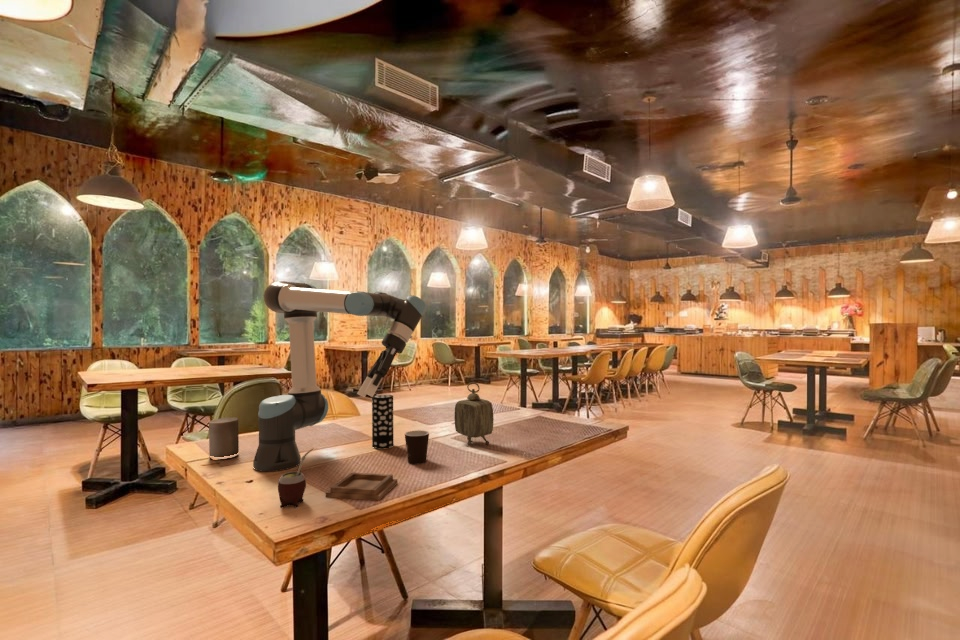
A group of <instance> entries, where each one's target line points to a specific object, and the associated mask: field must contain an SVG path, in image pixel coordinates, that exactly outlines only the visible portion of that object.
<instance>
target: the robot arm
mask: <svg viewBox="0 0 960 640" xmlns="http://www.w3.org/2000/svg"><path fill="white" fill-rule="evenodd" d="M263 301H264V304H265V306H266V307H267V308H268V309H269V310H270V311H272V312H274V313H279V314H283V318H284V319H283V320H284V321H285V322H287V323H288V330H289V348H290V350H289V351H290V367H291V369H290V370H291V372H290V373H291V386H292V387H291V388H290V389H289V391H288V392H287V394H281V395H280V394H279V395H276V396H271V397H267V398H265V399H263V400H262V401H260V403H259V405H258V413H257V415H258V446H257V449H256V451H255V455H254V459H253V463H252V466H253V467H254V468H255V469H257V470H256V471H258V470H262V471H261V472H277V471H276V470H278V471H282V470H283V469H284V470H288V469H287V468H289V469H291V467H292V468H294V466H295V467H297V466H298V464H299V465H300V462H301V459H302V457H301V453H300V451H299V448H298V445H297V442H296V431H297V430H299V429H303V428H307V427H312V426H315V425H316V424H319V423H321V422H322V421H324V419H325V418H326V417H327V415H328V412H329V401H328V399H327V398H326V396H325V395H324V394H322V389H321V388H320V387H319V386H318V385H317V372H316V371H317V369H316V352H315V337H314V335H315V334H314V333H315V332H314V322H315V321H316V320H317V319H318V313H319V312H321V313H322V312H323V313H333V314H344V315H345V314H346V315H353V316H357V317H364V316H366V317H367V316H368V317H369V316H370V317H386V318H389V319H392V320H393V321H392V322H391V325H390V327H389V329H387V333H386V334H385V335H384V337H383V338H382V340H381V344H382V345H383V347H385V350H382V351H381V352H380V355H379V356H378V357H377V359H376V360H375V362H374V363H373V365H372V366H371V368H370V369H369V371H368V372H367V375H366V378H365V379H364V380H363V383H362V385H361V386H360V388H359V390H358V391H357V393H356V395H358V396H360V397H362V398H366V396H367V395H368V396H370V397H371V398H372V397H373V396H375V393H376V392H377V390H378V388H379V386H380V384H381V383H382V381H383V379H384V377H386V376H387V375H388V372H389V370H390V367H391V366H392V364H393V361H394V359H395V357H396V355H397V354H402V353H403V352H404V350H405V347H406V346H407V343H408V342H409V341H410V339H413V334H414V332H415V329H416V328H417V326H418V325H419V323H420V321H421V319H422V318H423V317H424V314H425V312H426V310H427V304H426V302H425V301H424V300H423V299H422V298H420V297H418V296H417V295H413V294H412V295H411V294H410V295H408V296H407V297H406V299H404V298H403V299H402V298H400V297H396V296H393V295H390V294H389V293H386V292H381V291H375V292H365V291H351V290H350V291H349V290H338V289H337V290H336V289H326V288H325V289H324V288H323V289H321V288H317V287H316V286H315V285H312V284H308V283H305V282H292V281H283V280H279V281H275V282H272V283H270V284H269V285H268V286H267V287H266V288H265V290H264V293H263ZM296 465H297V466H296ZM253 467H252V468H253ZM254 468H253V469H254ZM255 469H254V470H255ZM284 470H283V471H284Z"/></svg>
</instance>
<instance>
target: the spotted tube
mask: <svg viewBox="0 0 960 640" xmlns="http://www.w3.org/2000/svg"><path fill="white" fill-rule="evenodd" d="M371 434H372V435H371V437H372V439H371V448H372V447H374V448H373V449H375V448H388V449H390V448H389V447H391V448H393V447H394V446H393V445H394V395H392V394H374V395H373V397H371ZM392 446H393V447H392Z"/></svg>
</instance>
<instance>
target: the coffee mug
mask: <svg viewBox="0 0 960 640" xmlns="http://www.w3.org/2000/svg"><path fill="white" fill-rule="evenodd" d="M429 437H430V432H429V431H427V430H421V429H420V430H419V429H418V430H410V431H406V432H405V433H404V438H405V439H404V441H405V448H406V456H407V463H408V464H411V465H421V464H425V463H427V458H428V457H427V456H428V447H429Z"/></svg>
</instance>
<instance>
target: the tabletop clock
mask: <svg viewBox="0 0 960 640" xmlns="http://www.w3.org/2000/svg"><path fill="white" fill-rule="evenodd" d="M471 384H472V385H476V386H477V388H478V389H477V390H476V389H475V388H472V389H470V387H469V386H470V385H471ZM466 389H467V390H468V392H470V393H469V394H468V395H467V398H466V399H462V400H458V401H457V402H456V403H455V406H454V429H455V432H456V433H458V434H460V435H462V436H466V437H467V444H468V446H471V445H473V444H472V438H474V439H475V438H481V439H483V440H484V441H485V442H484V443H485V445H486V446H488V445H490V441H489V440H487V439H486V436H488V435H491V434H492V433H493V431H494V418H495V417H494V409H493V404H492V402H491V401H489V400H487V399H485V398H480V395H479V394H478V393H479V391H480V389H481V388H480V385H479V384H478V383H477V382H475V381H471V382H469V383H468V384H467V388H466Z"/></svg>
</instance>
